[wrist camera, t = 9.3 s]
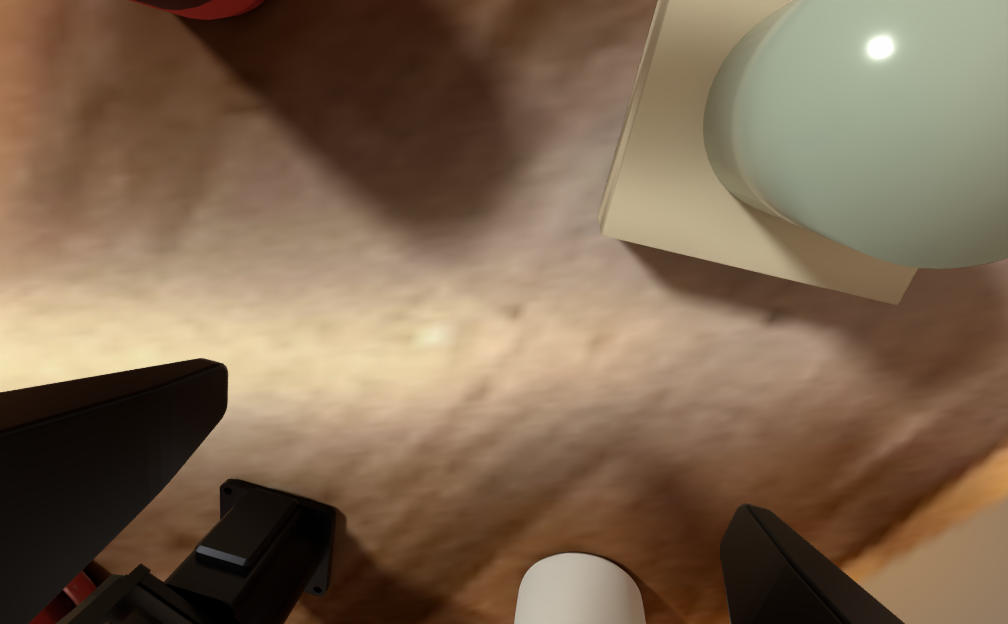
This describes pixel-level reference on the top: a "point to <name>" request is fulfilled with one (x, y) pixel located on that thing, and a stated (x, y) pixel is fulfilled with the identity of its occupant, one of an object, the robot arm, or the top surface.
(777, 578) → the robot arm
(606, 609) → the can
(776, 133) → the grey-green rounded piece
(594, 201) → the top surface
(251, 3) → the canned food
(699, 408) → the top surface
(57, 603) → the plant pot
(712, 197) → the beech block
